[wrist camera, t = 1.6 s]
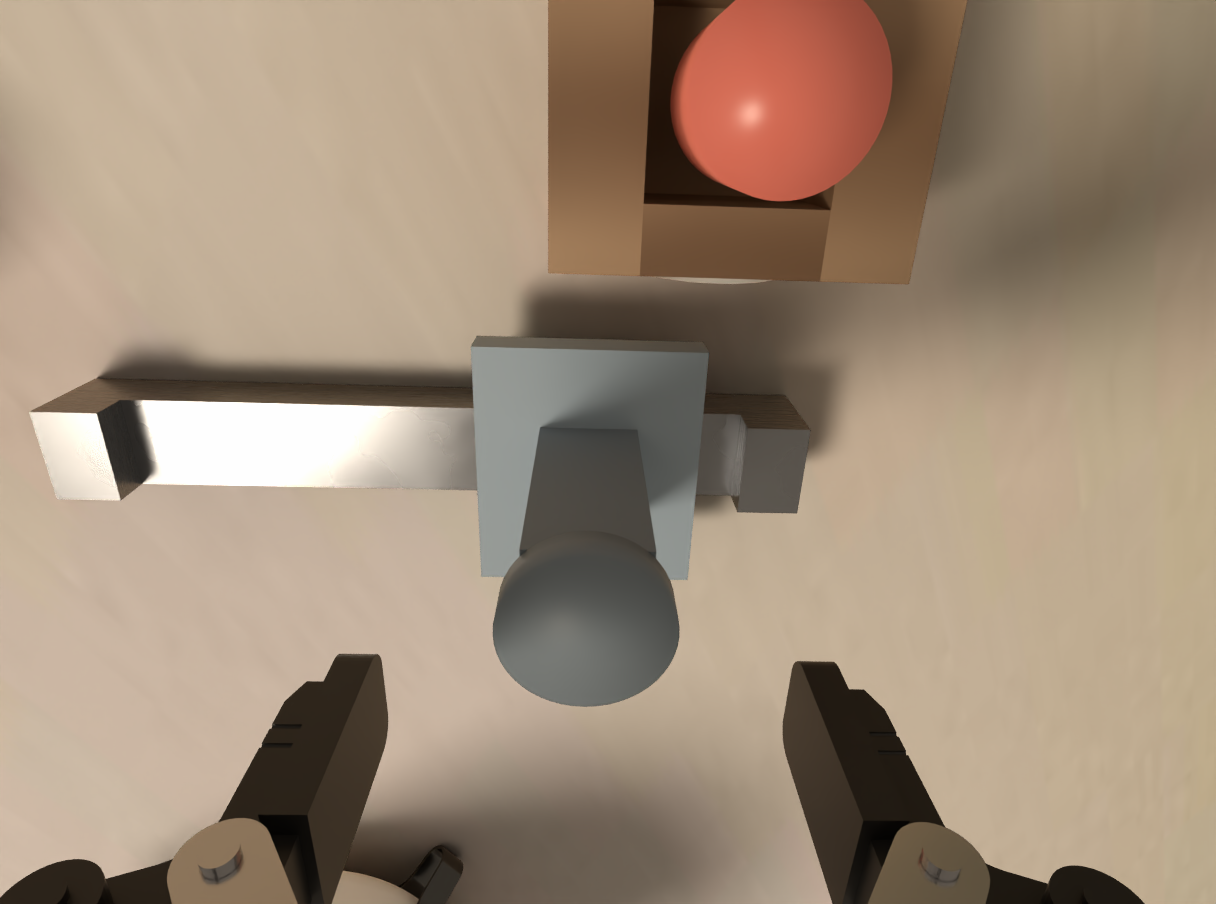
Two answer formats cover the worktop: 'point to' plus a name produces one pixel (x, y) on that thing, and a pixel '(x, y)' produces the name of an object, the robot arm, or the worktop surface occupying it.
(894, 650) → the worktop surface
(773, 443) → the rail
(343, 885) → the coffee press
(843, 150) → the button
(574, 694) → the carriage
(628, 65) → the cabinet
